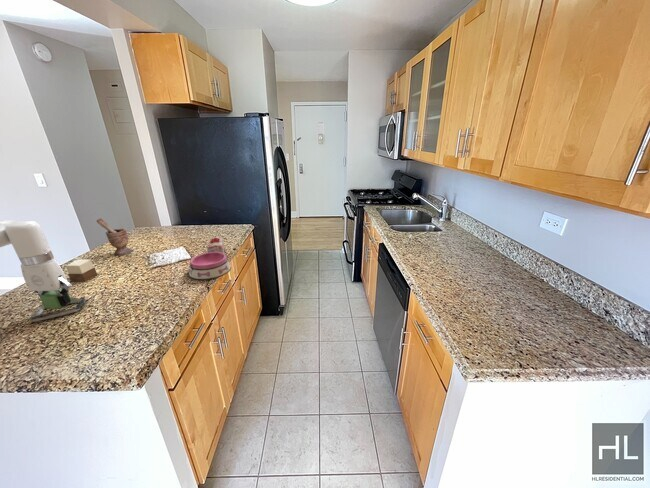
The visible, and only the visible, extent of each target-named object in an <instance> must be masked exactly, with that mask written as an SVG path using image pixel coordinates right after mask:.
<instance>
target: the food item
mask: <svg viewBox="0 0 650 488" xmlns="http://www.w3.org/2000/svg"><path fill="white" fill-rule="evenodd" d="M208 240H209V244H207V245H206V250H207V253H209V252H221V253H224V254H225V244H224V240H223V238H222V237H217V236H216V237H212V238H209V239H208Z"/></svg>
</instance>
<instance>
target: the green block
mask: <svg viewBox="0 0 650 488" xmlns="http://www.w3.org/2000/svg"><path fill="white" fill-rule="evenodd" d="M59 290H60V292H61V290H62V289H61V288H60V289H59ZM68 295H69V298H70V300H71V301H72V299H71V298H72V297H71V294H70V292H68ZM57 297H58V295H57V294H56V292H55V291H49V292H47V293H45V294H43V295H41V296H39V299H40V301H41V303H43V305H44V307H45V310H46V309H49V310H50V309H51V310H53V309H55V310H57V309H62V308H63V306H61V305H60V302H59V300H58V298H57Z"/></svg>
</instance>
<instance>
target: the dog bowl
mask: <svg viewBox="0 0 650 488" xmlns="http://www.w3.org/2000/svg"><path fill="white" fill-rule="evenodd" d="M231 270H232V265H231V263H230V262H229V259H228V256H227V255H226V254H225V252H224V253H221V252H209V253H208V252H203V253H200V254H198V255H196V256H195V255H194V256H193V257H191V259H190V261H189V272H188V276H189V277H190V279H192V280H195V281H211V280H214V279H218V278H220V277H224V276H226V275H227V274H229V272H231Z"/></svg>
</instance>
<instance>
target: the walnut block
mask: <svg viewBox="0 0 650 488" xmlns="http://www.w3.org/2000/svg"><path fill="white" fill-rule="evenodd" d="M93 267H94V268H92V269H90V270H88V271H87V272H85V273H83V274H69V273H68V274H67V276H68V277H69V278H68V279H69V280H70V282H74V283H75V282H82V283H83V282H84V283H85V282H87V281H89V280H91V279H93V278H95V276H97V275H98V272H97V270H96V268H95V266H93Z"/></svg>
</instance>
